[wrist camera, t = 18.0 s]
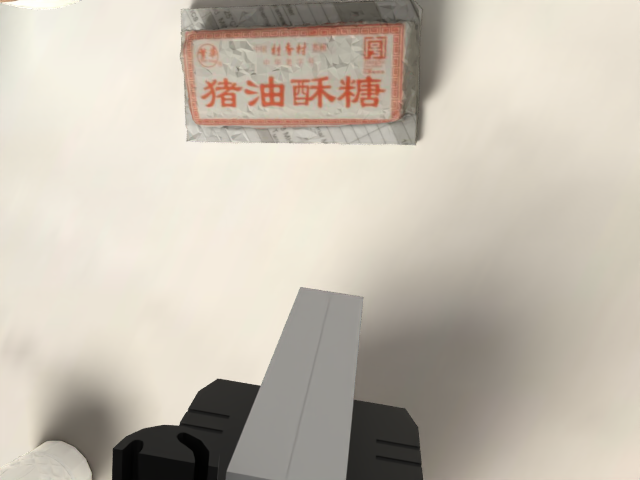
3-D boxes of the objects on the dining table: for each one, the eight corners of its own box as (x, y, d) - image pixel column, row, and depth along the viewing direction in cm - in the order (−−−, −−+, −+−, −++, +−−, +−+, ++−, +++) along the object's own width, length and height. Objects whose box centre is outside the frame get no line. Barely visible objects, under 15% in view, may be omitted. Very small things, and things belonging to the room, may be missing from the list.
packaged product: (419, -17, 35) (413, 145, 37) (423, 2, 40) (417, 145, 42) (157, -4, 39) (161, 142, 41) (188, 12, 44) (191, 142, 46)
